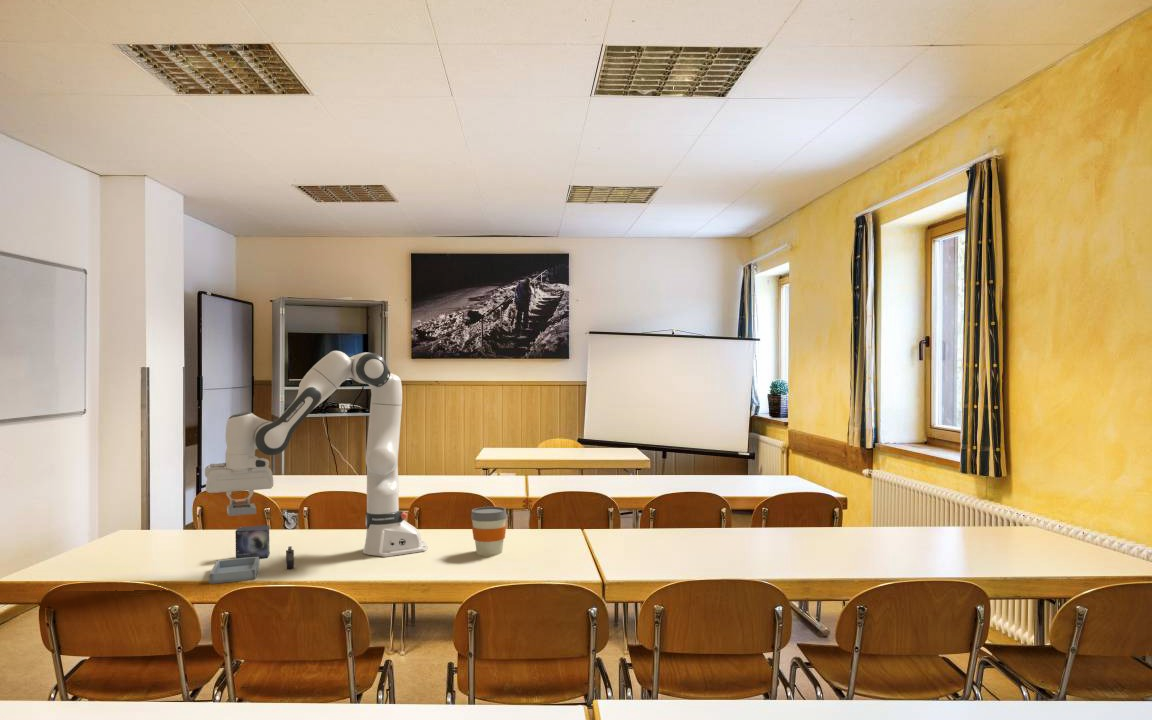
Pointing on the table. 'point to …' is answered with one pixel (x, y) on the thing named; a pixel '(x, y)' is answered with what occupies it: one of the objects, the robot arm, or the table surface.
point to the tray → (234, 570)
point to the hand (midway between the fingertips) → (240, 504)
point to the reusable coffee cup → (489, 529)
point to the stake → (289, 558)
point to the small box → (252, 542)
